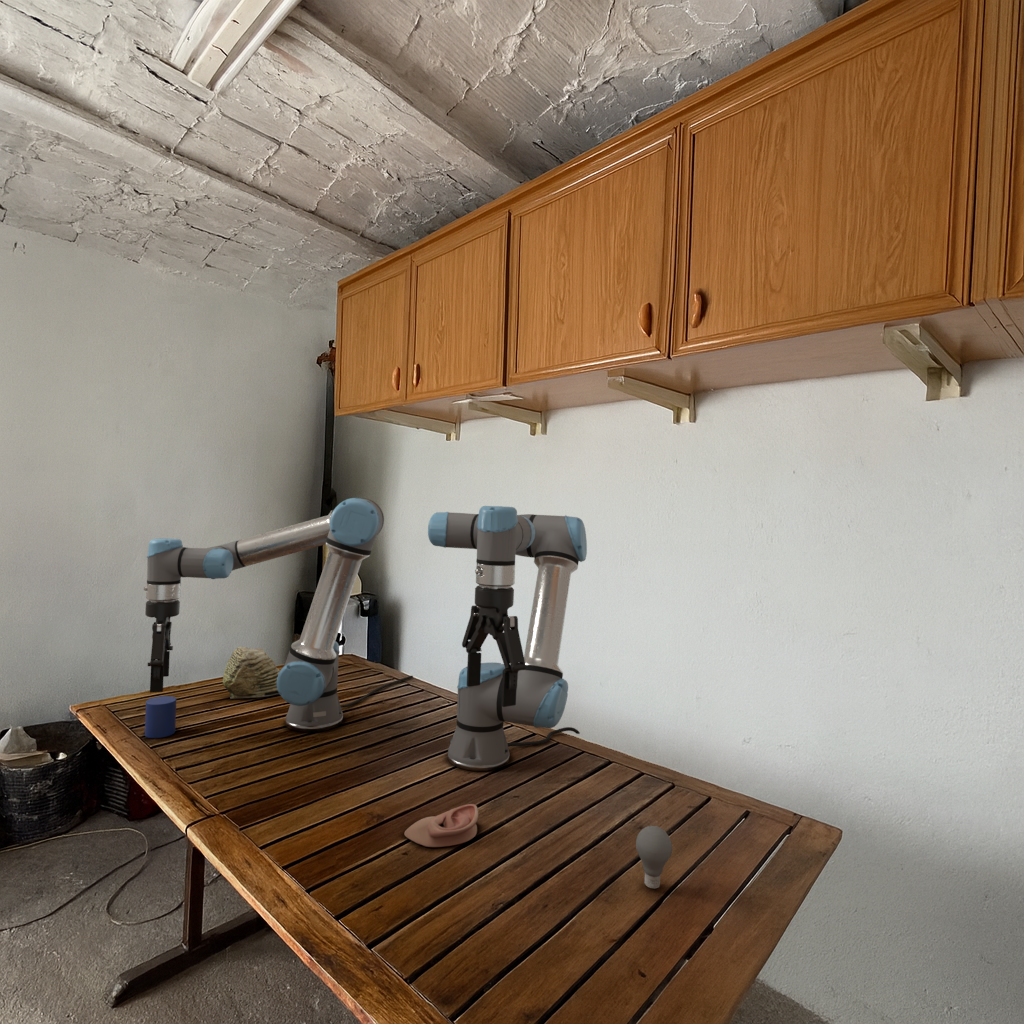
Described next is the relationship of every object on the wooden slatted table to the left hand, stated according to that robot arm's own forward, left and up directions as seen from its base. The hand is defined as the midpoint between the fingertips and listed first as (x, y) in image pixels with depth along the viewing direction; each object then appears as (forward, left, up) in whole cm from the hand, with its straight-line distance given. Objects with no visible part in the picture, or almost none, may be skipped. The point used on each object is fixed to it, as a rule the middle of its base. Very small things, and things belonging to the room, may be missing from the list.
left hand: (159, 683), depth 160 cm
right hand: (-24, +89, +12) cm, 93 cm away
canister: (-2, -4, -14) cm, 15 cm away
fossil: (-35, -17, -14) cm, 42 cm away
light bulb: (-29, +122, -14) cm, 126 cm away
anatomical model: (-17, +84, -14) cm, 87 cm away
